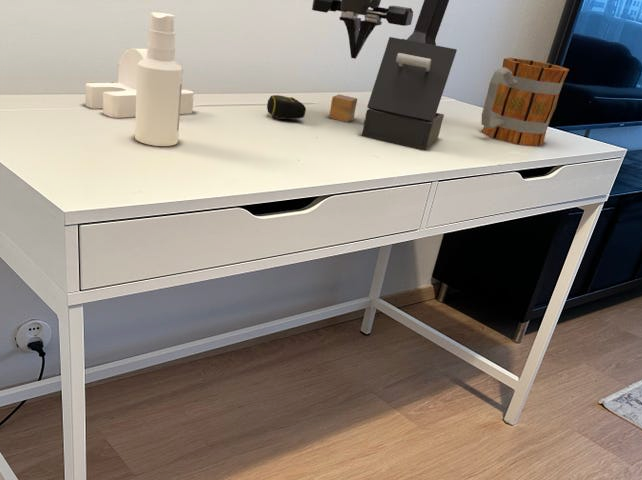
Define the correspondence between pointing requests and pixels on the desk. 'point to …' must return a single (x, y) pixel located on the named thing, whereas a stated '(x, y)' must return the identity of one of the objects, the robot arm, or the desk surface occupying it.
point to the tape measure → (285, 107)
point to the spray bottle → (159, 86)
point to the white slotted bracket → (126, 89)
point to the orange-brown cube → (343, 108)
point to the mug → (522, 101)
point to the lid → (411, 79)
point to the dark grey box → (401, 129)
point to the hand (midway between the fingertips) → (353, 58)
